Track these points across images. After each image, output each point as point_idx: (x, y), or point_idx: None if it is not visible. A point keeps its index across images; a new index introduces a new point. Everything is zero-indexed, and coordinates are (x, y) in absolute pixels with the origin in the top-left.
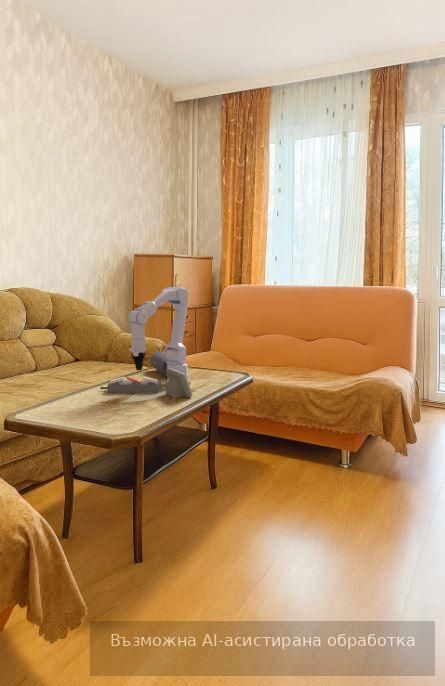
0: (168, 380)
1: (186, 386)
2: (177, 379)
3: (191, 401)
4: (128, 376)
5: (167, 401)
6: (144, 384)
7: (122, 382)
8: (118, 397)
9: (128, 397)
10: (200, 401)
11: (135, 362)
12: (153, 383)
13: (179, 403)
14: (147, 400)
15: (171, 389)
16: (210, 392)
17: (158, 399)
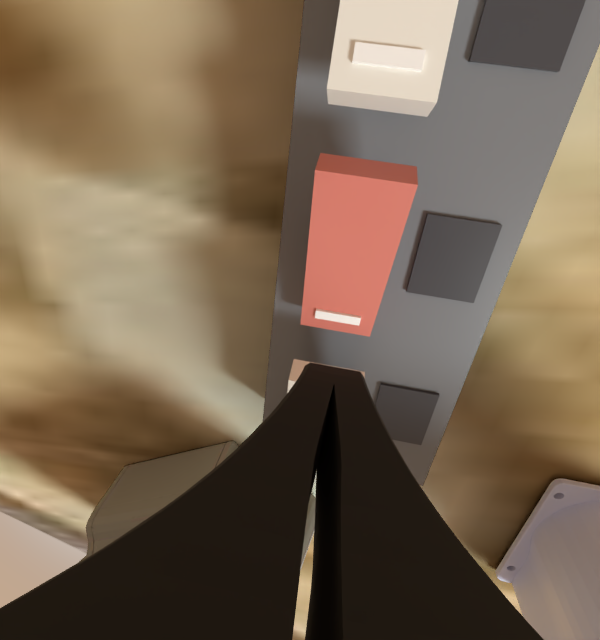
0: (594, 513)
1: None
2: None
3: (72, 516)
4: (370, 184)
5: (52, 426)
6: (270, 348)
7: (444, 68)
8: (117, 65)
9: (125, 174)
10: (78, 543)
11: (236, 468)
12: None
13: (25, 469)
14: (55, 323)
15: (131, 497)
16: None
17: (90, 387)
